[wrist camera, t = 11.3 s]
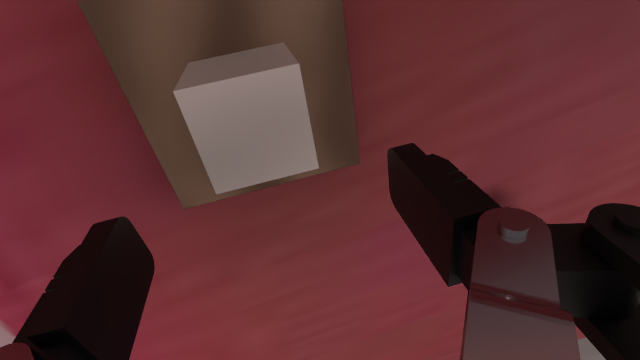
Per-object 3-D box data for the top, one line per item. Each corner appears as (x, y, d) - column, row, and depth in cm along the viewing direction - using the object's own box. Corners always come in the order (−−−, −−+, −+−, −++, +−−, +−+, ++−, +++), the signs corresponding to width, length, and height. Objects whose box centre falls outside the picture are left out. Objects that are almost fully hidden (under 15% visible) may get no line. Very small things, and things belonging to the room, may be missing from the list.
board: (329, -48, 17) (357, -55, 13) (353, 153, 23) (377, 188, 19) (89, -1, 16) (41, 6, 12) (186, 196, 22) (176, 242, 18)
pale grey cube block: (283, 42, 17) (298, 63, 13) (301, 128, 20) (318, 168, 16) (188, 62, 17) (172, 91, 12) (220, 147, 19) (216, 194, 15)
